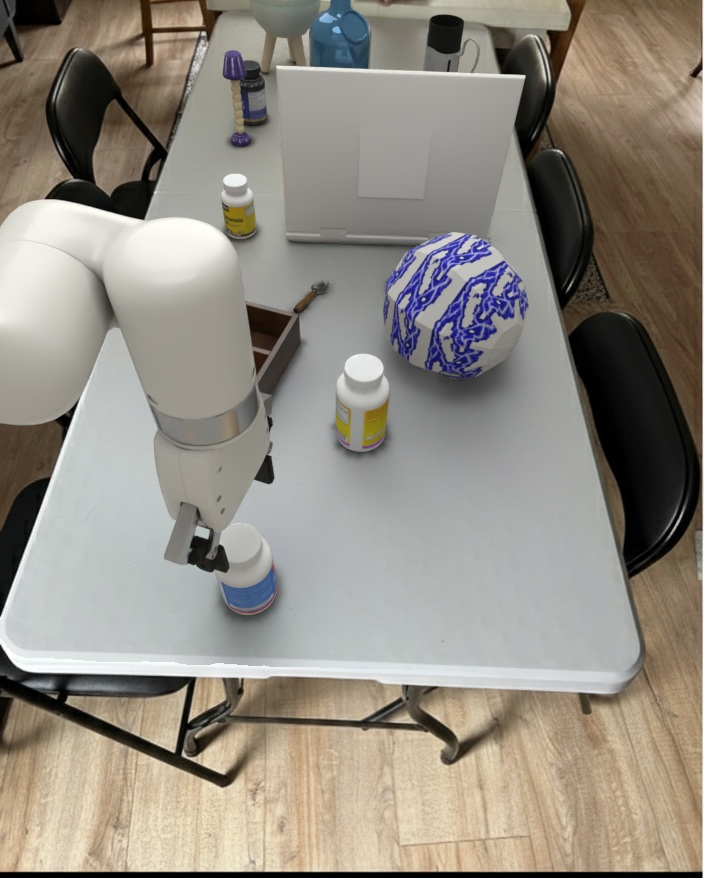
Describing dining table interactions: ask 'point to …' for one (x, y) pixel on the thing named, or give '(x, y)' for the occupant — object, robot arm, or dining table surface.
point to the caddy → (272, 342)
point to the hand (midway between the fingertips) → (236, 519)
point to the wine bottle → (340, 38)
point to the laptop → (392, 152)
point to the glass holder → (445, 44)
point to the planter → (284, 25)
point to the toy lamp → (236, 93)
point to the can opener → (310, 296)
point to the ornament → (454, 306)
